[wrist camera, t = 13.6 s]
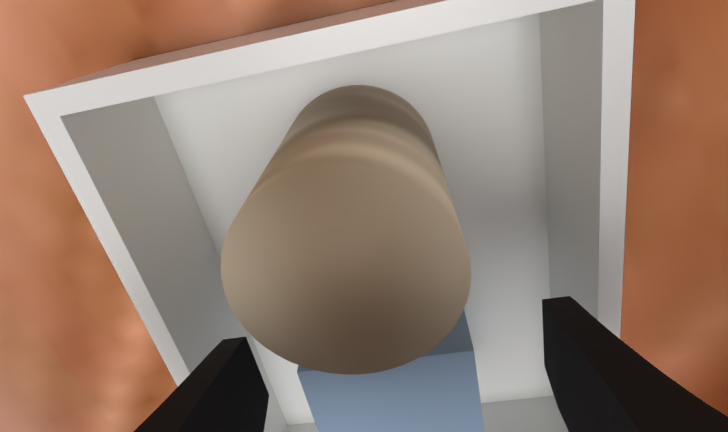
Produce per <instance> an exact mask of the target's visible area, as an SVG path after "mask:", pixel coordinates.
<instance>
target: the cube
mask: <svg viewBox="0 0 728 432" xmlns="http://www.w3.org/2000/svg"><path fill="white" fill-rule="evenodd" d="M297 374H298V377H299V380H300V383H301V385H302V388H303V391H304V394H305V396H306V399H307V402H308V405H309V407H310V410H311V413H312V416H313V418H314V421H315V424H316V427H317V429H318V432H485V431H484V423H483V415H482V408H481V400H480V393H479V385H478V377H477V370H476V362H475V355H474V349H473V344H472V340H471V336H470V332H469V328H468V323H467V319H466V315H465V311H464V310H463V312H462V314H461V316H460V318H459V320H458V321H457V323H456V325H455V326H454V327H453V328H452V330H451V331H450V332H449V334H448V335H447V336H446V337H445V338H444V339H443V340H442V341H441V342H440V343H439V344H438V345H436V346H435V347H434V348H432V349H431V350H430V351H428V352H427V353H426V354H424V355H422V356H420V357H419V358H417V359H415V360H413V361H411V362H409V363H406V364H404V365H402V366H399V367H396V368H393V369H390V370H386V371H381V372H376V373H369V374H358V375H344V374H333V373H326V372H321V371H316V370H312V369H309V368H305V367H302V366H299V365H298V369H297Z"/></svg>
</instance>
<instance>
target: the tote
mask: <svg viewBox="0 0 728 432" xmlns="http://www.w3.org/2000/svg"><path fill="white" fill-rule="evenodd" d="M634 17H635V0H396V1H391V2H387V3H383V4H378V5H374V6H369V7H365V8H361V9H356V10H352V11H348V12H343V13H339V14H334V15H330V16H326V17H321V18H317V19H312V20H308V21H304V22H299V23H295V24H291V25H286V26H282V27H277V28H273V29H269V30H264V31H260V32H255V33H251V34H247V35H242V36H238V37H234V38H229V39H225V40H220V41H216V42H212V43H207V44H203V45H198V46H194V47H190V48H185V49H181V50H176V51H172V52H168V53H163V54H159V55H155V56H150V57H146V58H141V59H137V60H133V61H129V62H126V63H123V64H120V65H117V66H113V67H110V68H107V69H104V70H101V71H98V72H95V73H92V74H89V75H86V76H82V77H79V78H76V79H73V80H70V81H67V82H64V83H61V84H58V85H55V86H51V87H48V88H45V89H42V90H39V91H36V92H33V93H30V94H27V95H24V96H23V97H24V99H25V101H26V102H27V104H28V106H29V108H30V110H31V112H32V114H33V116H34V117H35V119H36V121H37V123H38V125H39V127H40V129H41V131H42V133H43V134H44V136H45V138H46V140H47V142H48V144H49V146H50V148H51V149H52V151H53V153H54V155H55V157H56V159H57V161H58V163H59V165H60V166H61V168H62V170H63V172H64V174H65V176H66V178H67V180H68V181H69V183H70V185H71V187H72V189H73V191H74V193H75V195H76V196H77V198H78V200H79V202H80V204H81V206H82V208H83V210H84V212H85V213H86V215H87V217H88V219H89V221H90V223H91V225H92V227H93V228H94V230H95V232H96V234H97V236H98V238H99V240H100V242H101V244H102V245H103V247H104V249H105V251H106V253H107V255H108V257H109V259H110V260H111V262H112V264H113V266H114V268H115V270H116V272H117V274H118V275H119V277H120V279H121V281H122V283H123V285H124V287H125V289H126V291H127V292H128V294H129V296H130V298H131V300H132V302H133V304H134V306H135V307H136V309H137V311H138V313H139V315H140V317H141V319H142V321H143V323H144V324H145V326H146V328H147V330H148V332H149V334H150V336H151V338H152V339H153V341H154V343H155V345H156V347H157V349H158V351H159V353H160V354H161V356H162V358H163V360H164V362H165V364H166V366H167V368H168V370H169V371H170V373H171V375H172V377H173V379H174V381H175V383H176V385H177V386H179V385H180V384H181V383H182V382H183V381H184V380H185V379H186V378H187V377H188V376H189V375H190V373H191V372H192V371H193V370H194V369H195V368H196V367H197V366H198V365H199V364H200V363H201V362H202V361H203V359H204V358H205V357H206V356H207V355H208V354H209V353H210V352H211V351H212V350H213V349H214V348H215V347H216V346H217V345H218V344H219V343H220V342H221V341H222V340H223V339H230V338H238V337H246V338H247V340H248V343H249V345H250V348H251V350H252V353H253V355H254V358H255V360H256V363H257V365H258V368H259V370H260V373H261V375H262V378H263V380H264V383H265V385H266V388H267V390H268V393H269V400H268V407H267V415H266V421H265V427H264V432H318V429H317V427H316V424H315V421H314V418H313V416H312V413H311V410H310V407H309V405H308V402H307V399H306V396H305V394H304V391H303V388H302V385H301V383H300V380H299V377H298V374H297V369H298V365H297V364H294V363H292V362H290V361H287V360H285V359H284V358H282V357H280V356H278V355H276V354H274V353H273V352H271V351H270V350H268V349H267V348H265V347H264V346H263V345H262V344H260V343H259V342H258V341H257V340H256V339H255V338H253V337H252V336H251V335H250V333H249V332H248V331H247V330H246V329H245V328H244V327H243V326H242V324H241V323H240V322H239V320H238V319H237V317H236V316H235V314H234V312H233V310H232V309H231V307H230V305H229V303H228V300H227V297H226V295H225V292H224V288H223V284H222V279H221V265H220V264H221V254H222V248H223V244H224V240H225V237H226V235H227V232H228V230H229V228H230V226H231V223H232V222H233V220H234V219H235V217H236V215H237V214H238V212H239V210H240V209H241V207H242V205H243V204H244V202H245V201H246V199H247V197H248V196H249V194H250V192H251V191H252V189H253V188H254V186H255V184H256V183H257V181H258V179H259V178H260V176H261V175H262V173H263V171H264V170H265V168H266V166H267V165H268V163H269V161H270V160H271V158H272V157H273V155H274V153H275V152H276V150H277V148H278V147H279V145H280V144H281V142H282V140H283V139H284V137H285V135H286V134H287V132H288V130H289V129H290V127H291V126H292V124H293V122H294V121H295V119H296V118H297V116H298V115H299V113H300V112H301V111H302V110H303V109H304V108H305V106H307V105H308V104H309V103H310V102H311V101H312V100H314V99H315V98H317V97H318V96H320V95H321V94H324V93H326V92H328V91H330V90H333V89H336V88H339V87H344V86H350V85H367V86H374V87H378V88H382V89H385V90H388V91H390V92H393V93H394V94H396V95H398V96H400V97H402V98H403V99H404V100H406V101H407V102H408V103H410V104H411V105H412V106H413V107H414V108H415V109H416V110H417V111H418V113H419V114H420V115H421V116H422V118H423V119H424V121H425V123H426V124H427V126H428V128H429V131H430V133H431V136H432V139H433V142H434V145H435V148H436V151H437V154H438V158H439V161H440V164H441V167H442V170H443V173H444V176H445V180H446V183H447V186H448V189H449V192H450V195H451V198H452V202H453V205H454V208H455V211H456V214H457V217H458V220H459V224H460V227H461V230H462V233H463V236H464V239H465V242H466V246H467V249H468V254H469V258H470V264H471V285H470V291H469V295H468V300H467V303H466V305H465V308H464V311H465V315H466V319H467V323H468V328H469V332H470V336H471V340H472V344H473V349H474V355H475V362H476V370H477V377H478V385H479V393H480V400H481V408H482V415H483V423H484V431H485V432H569V431H568V429H567V427H566V425H565V422H564V420H563V418H562V416H561V413H560V411H559V409H558V406H557V403H556V400H555V397H554V394H553V391H552V388H551V385H550V382H549V379H548V375H547V372H546V369H545V366H544V343H543V315H542V299H549V298H557V297H565V296H570V297H572V298H573V299H574V300H575V301H577V302H578V303H579V304H580V305H581V306H582V307H583V308H584V309H586V310H587V311H588V312H589V313H590V314H591V315H592V316H593V317H595V318H596V319H597V320H598V321H599V322H600V323H602V324H603V325H604V326H605V327H606V328H607V329H609V330H610V331H611V332H612V333H613V334H614V335H616V336H617V337H618V338H619V339H620V326H621V304H622V282H623V260H624V238H625V216H626V194H627V172H628V149H629V127H630V105H631V83H632V61H633V39H634Z"/></svg>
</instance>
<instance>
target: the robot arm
mask: <svg viewBox="0 0 728 432" xmlns="http://www.w3.org/2000/svg"><path fill="white" fill-rule="evenodd" d="M542 315H543V343H544V366H545V369H546V372H547V375H548V379H549V382H550V385H551V388H552V391H553V394H554V397H555V400H556V403H557V406H558V409H559V411H560V413H561V416H562V418H563V420H564V422H565V425H566V427H567V429H568V431H569V432H728V417H727V416H725V415H724V414H722V413H721V412H719V411H717V410H716V409H714V408H713V407H711V406H709V405H708V404H706V403H705V402H703V401H702V400H700V399H699V398H697V397H696V396H695V395H693V394H692V393H690V392H689V391H687V390H686V389H685V388H683V387H682V386H680V385H679V384H678V383H676V382H675V381H673V380H672V379H671V378H669V377H668V376H666V375H665V374H664V373H662V372H661V371H660V370H658V369H657V368H656V367H654V366H653V365H652V364H650V363H649V362H648V361H647V360H645V359H644V358H643V357H642V356H640V355H639V354H638V353H637V352H635V351H634V350H633V349H632V348H630V347H629V346H628V345H627V344H625V343H624V342H623V341H622V340H620V339H619V338H618V337H617V336H616V335H614V334H613V333H612V332H611V331H610V330H609V329H607V328H606V327H605V326H604V325H603V324H602V323H600V322H599V321H598V320H597V319H596V318H595V317H593V316H592V315H591V314H590V313H589V312H588V311H587V310H586V309H584V308H583V307H582V306H581V305H580V304H579V303H578V302H577V301H575V300H574V299H573V298H572V297H570V296H565V297H557V298H549V299H542ZM268 400H269V393H268V390H267V388H266V385H265V383H264V380H263V378H262V375H261V373H260V370H259V368H258V365H257V363H256V360H255V358H254V355H253V353H252V350H251V348H250V345H249V343H248V340H247V338H246V337H238V338H230V339H223V340H222V341H221V342H220V343H219V344H218V345H217V346H216V347H215V348H214V349H213V350H212V351H211V352H210V353H209V354H208V355H207V356H206V357H205V358H204V359H203V361H202V362H201V363H200V364H199V365H198V366H197V367H196V368H195V369H194V370H193V371H192V372H191V373H190V375H189V376H188V377H187V378H186V379H185V380H184V381H183V382H182V383H181V384H180V385H179V386H178V387H177V388H176V389H175V390H174V392H173V393H172V394H171V395H170V396H169V397H168V398H167V399H166V400H165V401H164V402H163V403H162V404H161V405H160V406H159V407H158V408H157V409H156V410H155V411H154V412H153V413H152V414H151V415H150V416H149V417H148V418H147V419H146V420H145V421H144V422H143V423H142V424H141V425H140V426H139V427H138V428H137V429H136V430H135V431H134V432H264V427H265V421H266V415H267V407H268Z"/></svg>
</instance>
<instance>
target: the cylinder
mask: <svg viewBox="0 0 728 432" xmlns="http://www.w3.org/2000/svg"><path fill="white" fill-rule="evenodd" d="M220 265H221V279H222V284H223V288H224V292H225V295H226V297H227V300H228V303H229V305H230V307H231V309H232V310H233V312H234V314H235V316H236V317H237V319H238V320H239V322H240V323H241V324H242V326H243V327H244V328H245V329H246V330H247V331H248V332H249V333H250V335H251V336H252V337H253V338H255V339H256V340H257V341H258V342H259V343H260V344H262V345H263V346H264V347H265V348H267V349H268V350H270V351H271V352H273V353H274V354H276V355H278V356H280V357H282V358H284V359H285V360H287V361H290V362H292V363H294V364H297V365H299V366H302V367H305V368H309V369H312V370H316V371H321V372H326V373H333V374H344V375H358V374H369V373H376V372H381V371H386V370H390V369H393V368H396V367H399V366H402V365H404V364H406V363H409V362H411V361H413V360H415V359H417V358H419V357H420V356H422V355H424V354H426V353H427V352H428V351H430V350H431V349H432V348H434V347H435V346H436V345H438V344H439V343H440V342H441V341H442V340H443V339H444V338H445V337H446V336H447V335H448V334H449V332H450V331H451V330H452V328H453V327H454V326H455V325H456V323H457V321H458V320H459V318H460V316H461V314H462V312H463V310H464V308H465V305H466V303H467V300H468V295H469V291H470V285H471V264H470V258H469V254H468V249H467V246H466V242H465V239H464V236H463V233H462V230H461V227H460V224H459V220H458V217H457V214H456V211H455V208H454V205H453V202H452V198H451V195H450V192H449V189H448V186H447V183H446V180H445V176H444V173H443V170H442V167H441V164H440V161H439V158H438V154H437V151H436V148H435V145H434V142H433V139H432V136H431V133H430V131H429V128H428V126H427V124H426V123H425V121H424V119H423V118H422V116H421V115H420V114H419V113H418V111H417V110H416V109H415V108H414V107H413V106H412V105H411V104H410V103H408V102H407V101H406V100H404V99H403V98H402V97H400V96H398V95H396V94H394V93H393V92H390V91H388V90H385V89H382V88H378V87H374V86H367V85H350V86H344V87H339V88H336V89H333V90H330V91H328V92H326V93H324V94H321V95H320V96H318V97H317V98H315V99H314V100H312V101H311V102H310V103H309V104H308V105H307V106H305V108H304V109H303V110H302V111H301V112H300V113H299V115H298V116H297V118H296V119H295V121H294V122H293V124H292V126H291V127H290V129H289V130H288V132H287V134H286V135H285V137H284V139H283V140H282V142H281V144H280V145H279V147H278V148H277V150H276V152H275V153H274V155H273V157H272V158H271V160H270V161H269V163H268V165H267V166H266V168H265V170H264V171H263V173H262V175H261V176H260V178H259V179H258V181H257V183H256V184H255V186H254V188H253V189H252V191H251V192H250V194H249V196H248V197H247V199H246V201H245V202H244V204H243V205H242V207H241V209H240V210H239V212H238V214H237V215H236V217H235V219H234V220H233V222H232V223H231V226H230V228H229V230H228V232H227V235H226V237H225V240H224V244H223V248H222V254H221V264H220Z"/></svg>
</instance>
